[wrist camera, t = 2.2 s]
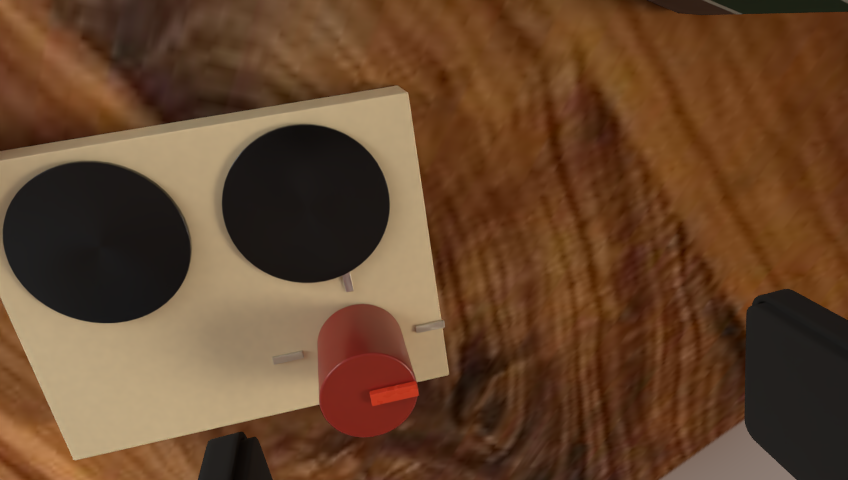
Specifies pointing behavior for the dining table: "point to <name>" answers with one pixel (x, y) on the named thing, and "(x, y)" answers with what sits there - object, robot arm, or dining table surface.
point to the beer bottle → (752, 6)
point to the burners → (168, 231)
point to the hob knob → (364, 372)
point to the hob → (222, 286)
